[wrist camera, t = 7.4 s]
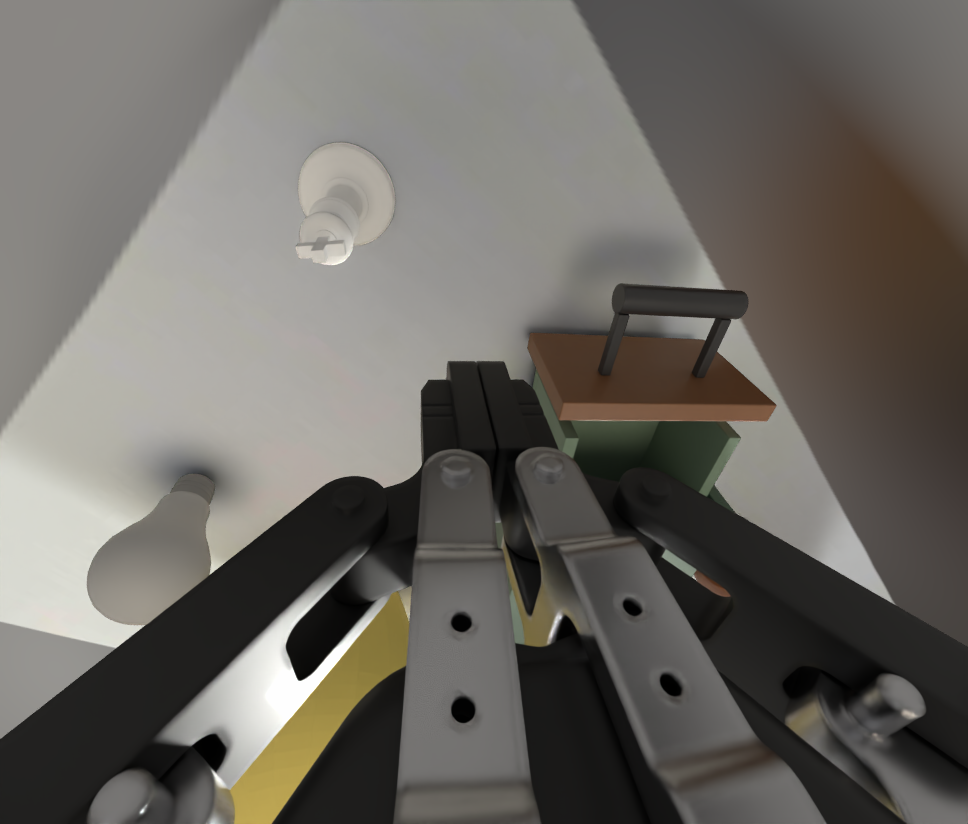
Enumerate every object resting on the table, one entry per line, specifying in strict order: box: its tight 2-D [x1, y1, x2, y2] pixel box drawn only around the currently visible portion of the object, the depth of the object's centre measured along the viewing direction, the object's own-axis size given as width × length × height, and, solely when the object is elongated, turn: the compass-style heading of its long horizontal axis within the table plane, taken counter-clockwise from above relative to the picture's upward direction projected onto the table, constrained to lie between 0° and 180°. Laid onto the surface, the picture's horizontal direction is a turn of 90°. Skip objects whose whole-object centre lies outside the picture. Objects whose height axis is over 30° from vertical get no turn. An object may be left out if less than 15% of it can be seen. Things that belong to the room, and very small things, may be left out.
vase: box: [230, 591, 409, 824], centre depth 33 cm, size 16×16×28 cm
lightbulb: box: [87, 474, 215, 625], centre depth 29 cm, size 6×6×11 cm
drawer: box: [527, 283, 777, 497], centre depth 30 cm, size 20×13×8 cm, turn 174°
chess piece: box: [296, 142, 395, 265], centre depth 20 cm, size 5×5×10 cm
